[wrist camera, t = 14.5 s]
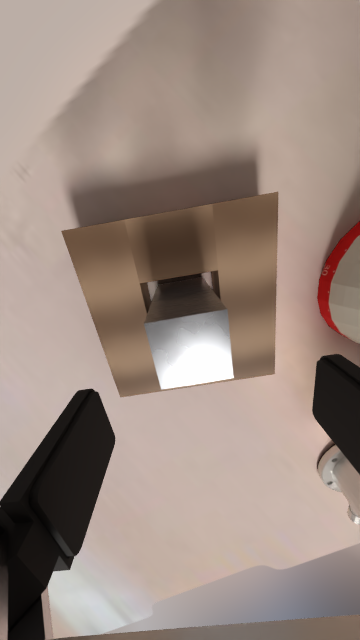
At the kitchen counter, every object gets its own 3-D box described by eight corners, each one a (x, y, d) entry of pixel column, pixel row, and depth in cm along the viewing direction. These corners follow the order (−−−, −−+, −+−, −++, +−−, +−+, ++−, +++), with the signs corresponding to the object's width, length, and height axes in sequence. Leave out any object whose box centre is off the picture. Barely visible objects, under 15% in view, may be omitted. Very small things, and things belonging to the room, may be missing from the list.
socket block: (260, 355, 23) (274, 374, 20) (127, 375, 24) (120, 397, 20) (258, 201, 17) (278, 191, 14) (81, 233, 18) (61, 230, 15)
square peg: (207, 318, 21) (233, 377, 12) (166, 325, 21) (161, 389, 12) (202, 276, 20) (227, 309, 10) (157, 284, 20) (143, 323, 10)
